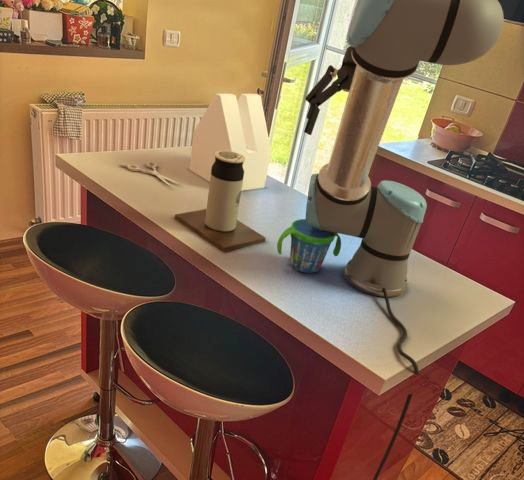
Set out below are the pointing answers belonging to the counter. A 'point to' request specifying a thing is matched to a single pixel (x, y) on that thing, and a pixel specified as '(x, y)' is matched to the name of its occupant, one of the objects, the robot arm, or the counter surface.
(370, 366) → the counter surface
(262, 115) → the white slotted tapered block
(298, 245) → the snack cup
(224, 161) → the travel mug
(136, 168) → the scissors
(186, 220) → the walnut board
